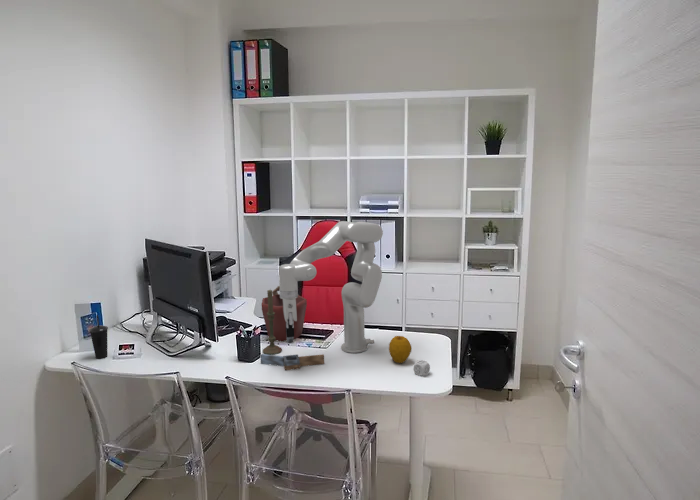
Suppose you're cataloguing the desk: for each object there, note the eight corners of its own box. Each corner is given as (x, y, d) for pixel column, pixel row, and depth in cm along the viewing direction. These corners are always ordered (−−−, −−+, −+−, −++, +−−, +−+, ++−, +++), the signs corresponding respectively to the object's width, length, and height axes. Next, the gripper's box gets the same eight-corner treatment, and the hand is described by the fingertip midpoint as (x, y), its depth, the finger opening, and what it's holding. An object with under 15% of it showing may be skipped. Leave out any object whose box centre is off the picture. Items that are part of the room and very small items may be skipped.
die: (430, 373, 210) (430, 362, 209) (423, 377, 206) (423, 365, 206) (420, 370, 213) (420, 358, 212) (413, 374, 210) (413, 362, 209)
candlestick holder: (278, 355, 231) (275, 292, 226) (259, 354, 233) (256, 291, 227) (284, 348, 240) (282, 286, 234) (266, 346, 242) (263, 286, 236)
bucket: (265, 328, 268) (263, 282, 263) (306, 326, 270) (305, 280, 266) (262, 345, 244) (260, 295, 239) (308, 342, 246) (306, 293, 242)
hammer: (321, 356, 229) (321, 348, 228) (325, 366, 218) (325, 357, 218) (260, 362, 223) (260, 353, 223) (261, 372, 213) (261, 363, 212)
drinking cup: (114, 355, 234) (110, 313, 230) (100, 361, 227) (95, 318, 224) (103, 352, 237) (98, 311, 234) (88, 358, 230) (83, 316, 227)
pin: (293, 340, 218) (292, 318, 216) (294, 343, 215) (293, 320, 213) (286, 341, 217) (285, 318, 216) (287, 343, 215) (286, 321, 213)
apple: (414, 359, 224) (414, 334, 222) (405, 367, 216) (406, 341, 214) (394, 355, 229) (394, 331, 227) (385, 363, 221) (385, 337, 218)
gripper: (299, 298, 205) (301, 341, 209) (295, 288, 221) (296, 328, 224) (281, 299, 204) (282, 342, 207) (278, 289, 220) (279, 329, 223)
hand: (290, 334), depth 216 cm, fingers closed on pin, 3 cm apart
